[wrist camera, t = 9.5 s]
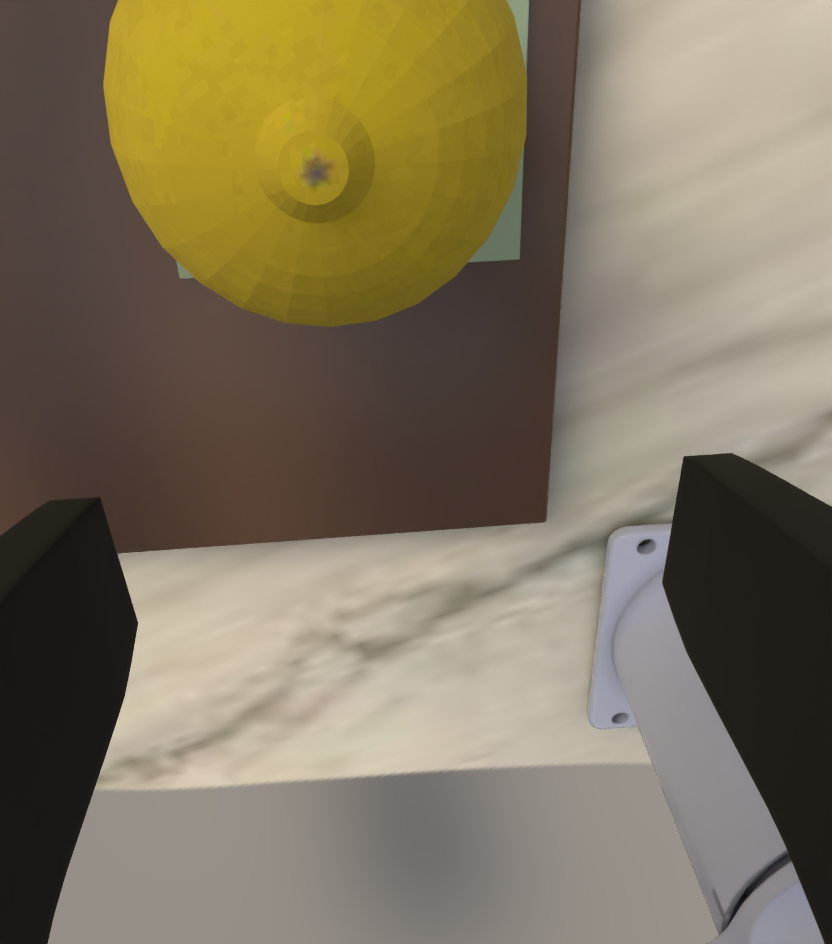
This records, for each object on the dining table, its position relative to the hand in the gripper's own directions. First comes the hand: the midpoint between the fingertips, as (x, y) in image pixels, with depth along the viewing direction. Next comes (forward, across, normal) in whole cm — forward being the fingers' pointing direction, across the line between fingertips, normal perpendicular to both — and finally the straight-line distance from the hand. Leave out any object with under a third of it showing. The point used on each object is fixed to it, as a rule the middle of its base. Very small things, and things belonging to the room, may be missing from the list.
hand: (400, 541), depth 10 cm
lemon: (+8, +1, -4) cm, 9 cm away
